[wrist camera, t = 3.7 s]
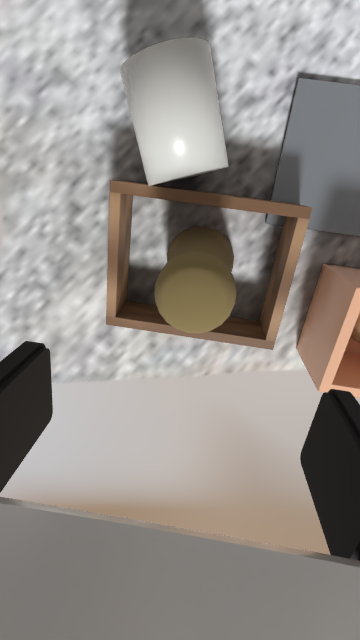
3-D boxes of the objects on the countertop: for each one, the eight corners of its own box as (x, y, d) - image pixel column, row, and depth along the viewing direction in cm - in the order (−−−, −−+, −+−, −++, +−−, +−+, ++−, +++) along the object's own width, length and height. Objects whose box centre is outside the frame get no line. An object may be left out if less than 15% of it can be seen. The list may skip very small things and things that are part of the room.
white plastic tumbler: (132, 88, 24) (108, 59, 18) (210, 63, 23) (210, 25, 17) (155, 186, 26) (140, 187, 21) (226, 168, 25) (231, 164, 20)
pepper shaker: (244, 276, 29) (261, 326, 19) (184, 302, 30) (171, 361, 20) (217, 213, 27) (220, 232, 17) (155, 244, 28) (124, 278, 18)
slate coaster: (297, 79, 23) (299, 77, 22) (439, 96, 22) (442, 95, 22) (265, 222, 27) (266, 223, 26) (384, 239, 26) (386, 240, 26)
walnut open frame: (124, 180, 26) (110, 180, 23) (298, 204, 26) (312, 207, 22) (118, 307, 31) (106, 324, 27) (265, 329, 31) (272, 349, 27)
